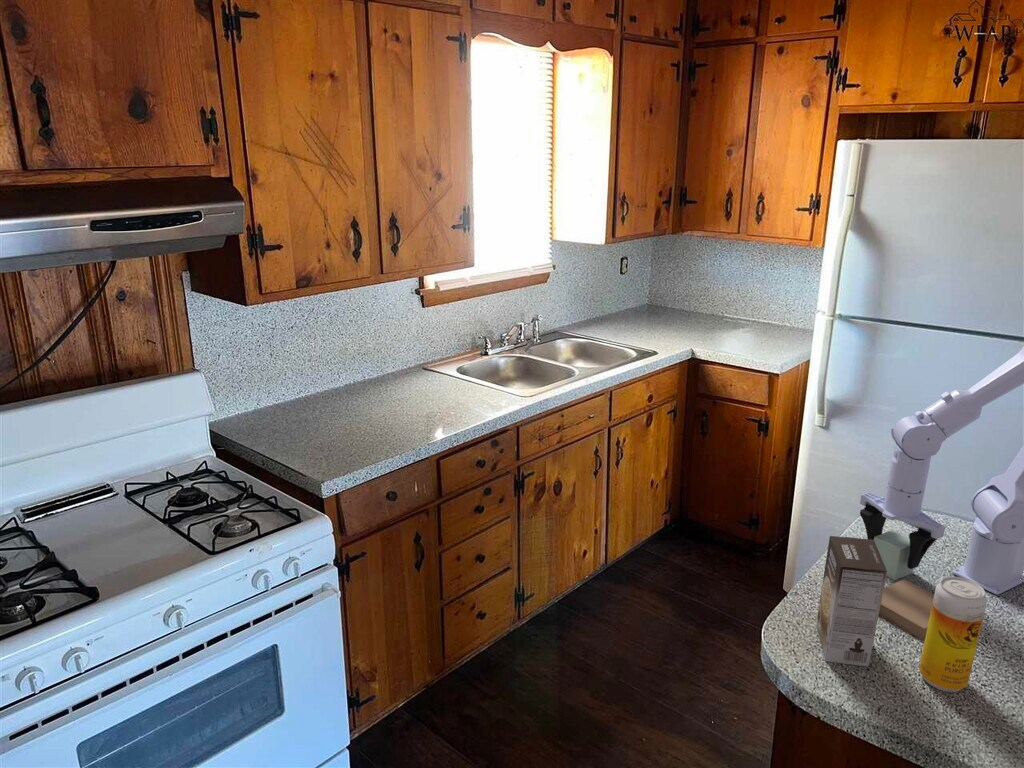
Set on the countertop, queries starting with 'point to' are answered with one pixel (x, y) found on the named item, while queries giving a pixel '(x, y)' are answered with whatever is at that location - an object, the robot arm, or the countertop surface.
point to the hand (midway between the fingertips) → (892, 556)
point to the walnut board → (907, 607)
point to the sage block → (894, 553)
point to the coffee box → (850, 600)
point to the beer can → (952, 633)
